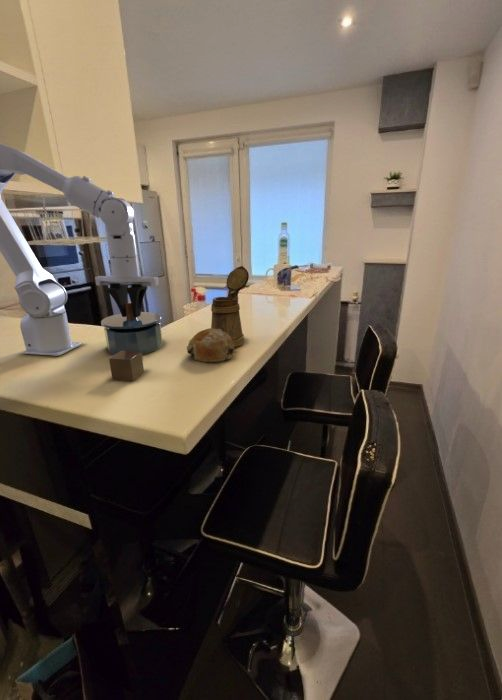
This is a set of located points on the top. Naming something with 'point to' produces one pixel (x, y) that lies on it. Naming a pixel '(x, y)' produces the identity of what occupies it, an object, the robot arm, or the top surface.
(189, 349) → the bread roll
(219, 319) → the wooden mug
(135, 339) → the bowl
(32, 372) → the top surface
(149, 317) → the bowl lid
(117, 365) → the block
